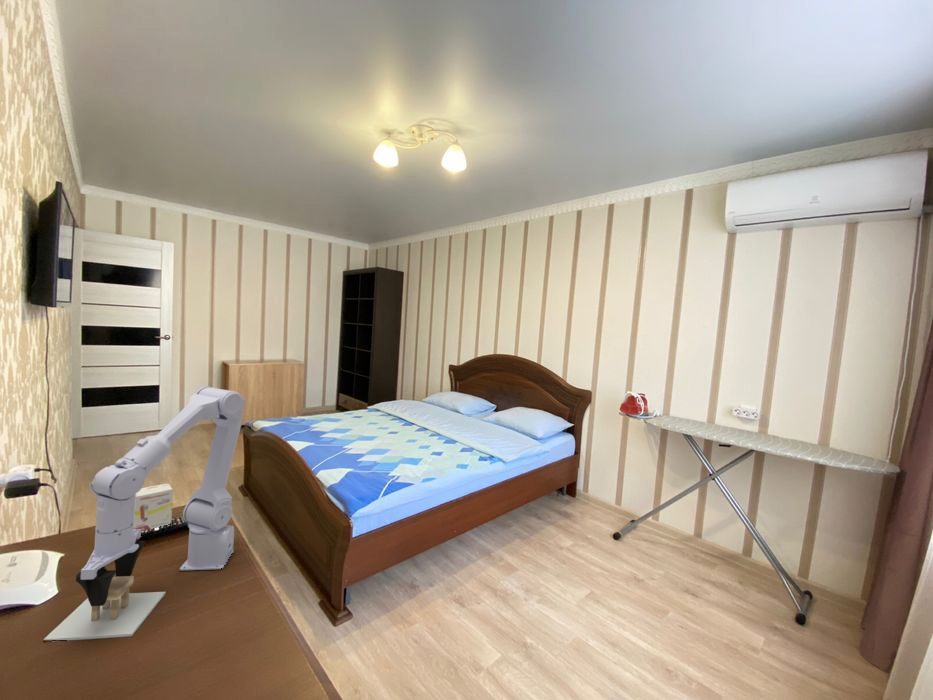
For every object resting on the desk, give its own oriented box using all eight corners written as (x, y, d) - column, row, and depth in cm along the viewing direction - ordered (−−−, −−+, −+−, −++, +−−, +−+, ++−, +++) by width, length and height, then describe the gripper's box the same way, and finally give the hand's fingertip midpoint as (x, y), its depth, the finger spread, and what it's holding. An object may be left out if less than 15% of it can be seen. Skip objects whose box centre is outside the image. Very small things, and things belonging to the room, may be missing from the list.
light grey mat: (165, 593, 86) (165, 591, 86) (131, 636, 75) (131, 633, 75) (90, 597, 83) (91, 595, 83) (43, 642, 72) (43, 639, 72)
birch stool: (104, 604, 81) (105, 577, 81) (132, 603, 82) (133, 575, 82) (86, 623, 76) (88, 593, 76) (116, 621, 77) (118, 591, 77)
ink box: (133, 538, 105) (135, 496, 104) (128, 531, 108) (131, 490, 108) (171, 528, 112) (174, 488, 111) (166, 521, 115) (169, 482, 114)
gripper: (114, 545, 72) (110, 616, 73) (158, 509, 86) (154, 568, 87) (68, 546, 70) (64, 618, 71) (120, 509, 84) (117, 569, 85)
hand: (111, 591), depth 79 cm, fingers open, 7 cm apart
